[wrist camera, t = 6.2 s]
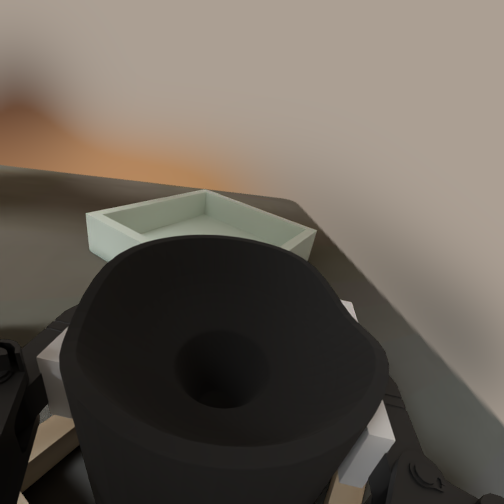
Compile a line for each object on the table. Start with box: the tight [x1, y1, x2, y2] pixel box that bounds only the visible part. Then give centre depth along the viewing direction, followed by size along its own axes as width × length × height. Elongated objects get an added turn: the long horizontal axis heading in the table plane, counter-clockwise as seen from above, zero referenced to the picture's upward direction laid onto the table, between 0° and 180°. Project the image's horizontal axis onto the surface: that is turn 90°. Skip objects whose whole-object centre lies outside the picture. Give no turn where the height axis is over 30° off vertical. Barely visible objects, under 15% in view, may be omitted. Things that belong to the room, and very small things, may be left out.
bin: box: [86, 189, 317, 262], centre depth 31 cm, size 17×17×4 cm
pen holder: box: [59, 235, 389, 504], centre depth 11 cm, size 9×9×10 cm
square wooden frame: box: [17, 415, 366, 504], centre depth 13 cm, size 13×13×2 cm
